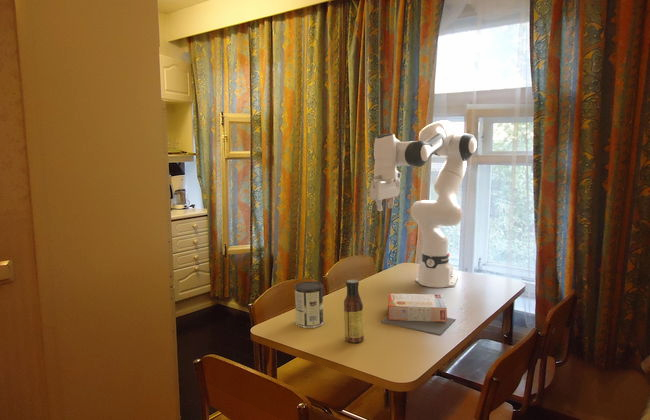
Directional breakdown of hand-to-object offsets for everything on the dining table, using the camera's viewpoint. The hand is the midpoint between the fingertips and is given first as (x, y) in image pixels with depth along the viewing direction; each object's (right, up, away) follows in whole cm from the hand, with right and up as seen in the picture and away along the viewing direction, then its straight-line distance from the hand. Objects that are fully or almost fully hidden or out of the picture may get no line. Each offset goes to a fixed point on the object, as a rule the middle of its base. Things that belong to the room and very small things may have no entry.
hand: (385, 209), depth 172 cm
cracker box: (0, -37, -9) cm, 38 cm away
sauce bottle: (-15, -43, -30) cm, 55 cm away
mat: (+10, -41, -15) cm, 45 cm away
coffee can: (-30, -42, -15) cm, 53 cm away
